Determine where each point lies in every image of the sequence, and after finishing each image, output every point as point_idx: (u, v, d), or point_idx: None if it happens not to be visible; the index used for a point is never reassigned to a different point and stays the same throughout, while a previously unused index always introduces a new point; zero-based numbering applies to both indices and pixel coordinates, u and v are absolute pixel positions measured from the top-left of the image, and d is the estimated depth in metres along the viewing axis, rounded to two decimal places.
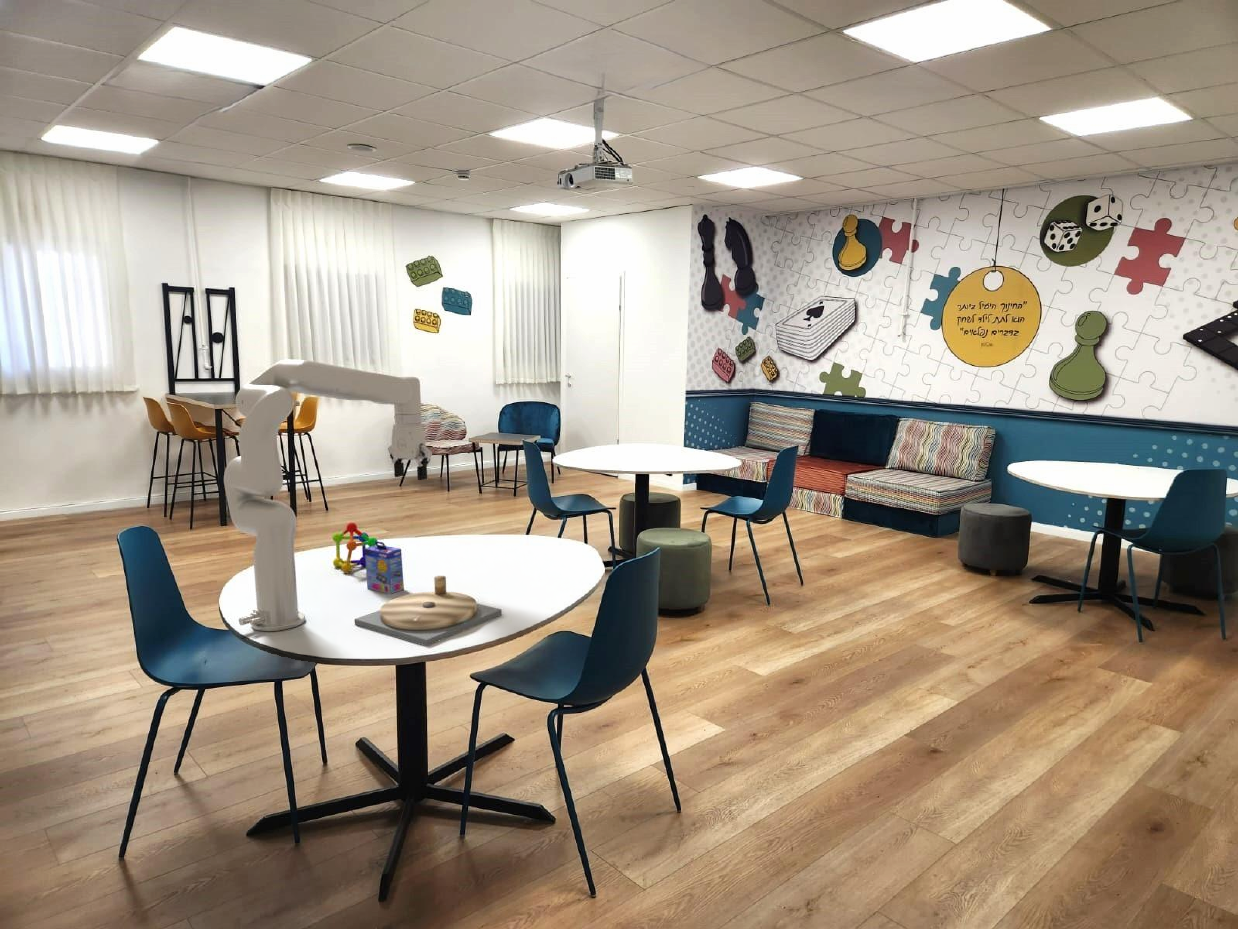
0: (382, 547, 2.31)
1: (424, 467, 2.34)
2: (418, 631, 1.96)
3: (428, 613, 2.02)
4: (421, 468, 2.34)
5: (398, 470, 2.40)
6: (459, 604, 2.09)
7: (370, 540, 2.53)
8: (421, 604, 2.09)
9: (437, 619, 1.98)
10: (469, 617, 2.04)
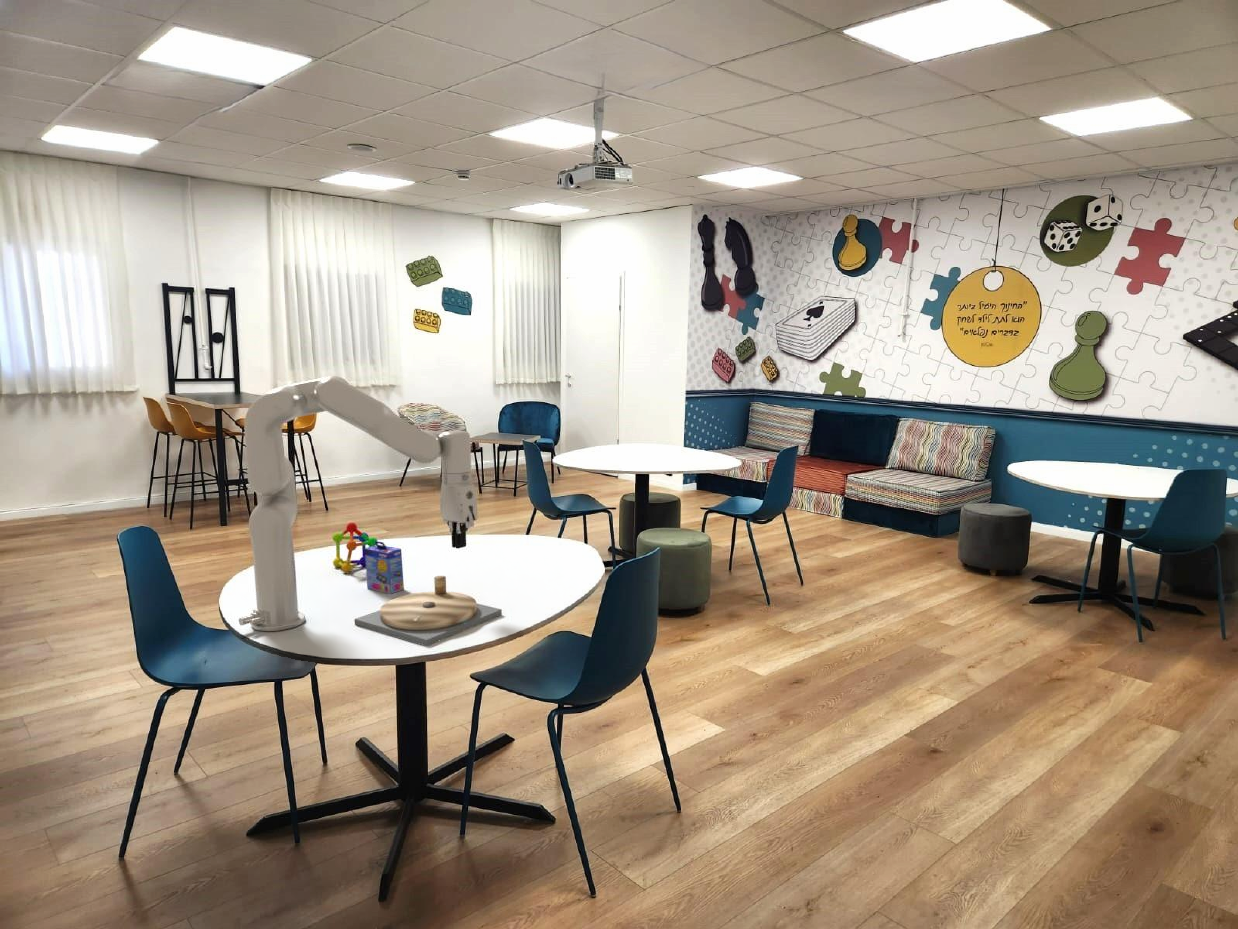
0: (382, 547, 2.32)
1: None
2: (418, 631, 1.96)
3: (428, 613, 2.02)
4: None
5: None
6: (459, 604, 2.09)
7: (370, 540, 2.53)
8: (421, 604, 2.09)
9: (437, 619, 1.98)
10: (469, 617, 2.04)
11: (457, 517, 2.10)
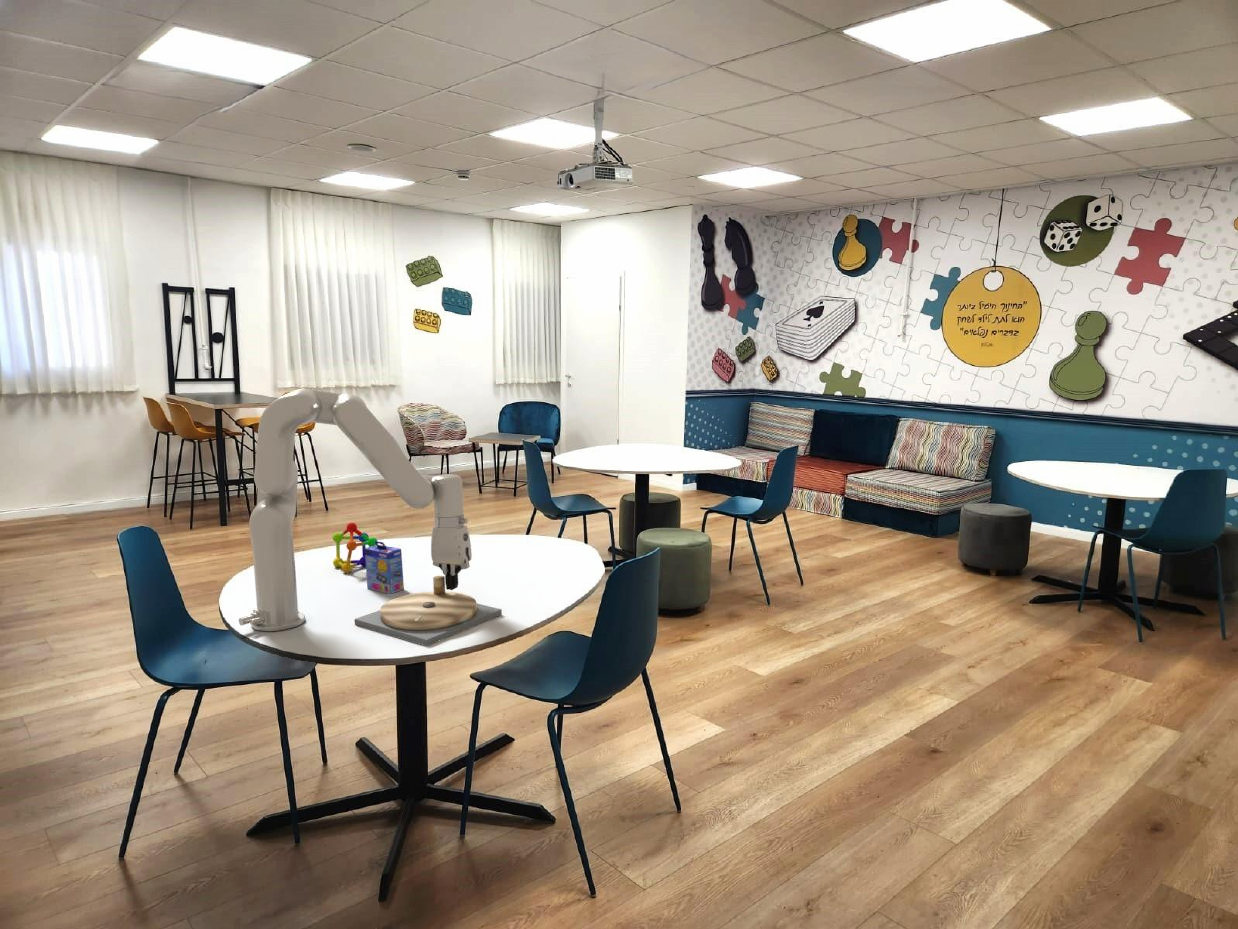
0: (382, 547, 2.32)
1: None
2: (418, 631, 1.96)
3: (428, 613, 2.02)
4: None
5: None
6: (459, 604, 2.09)
7: (370, 540, 2.53)
8: (421, 604, 2.09)
9: (438, 619, 1.98)
10: (470, 617, 2.05)
11: (454, 559, 2.13)
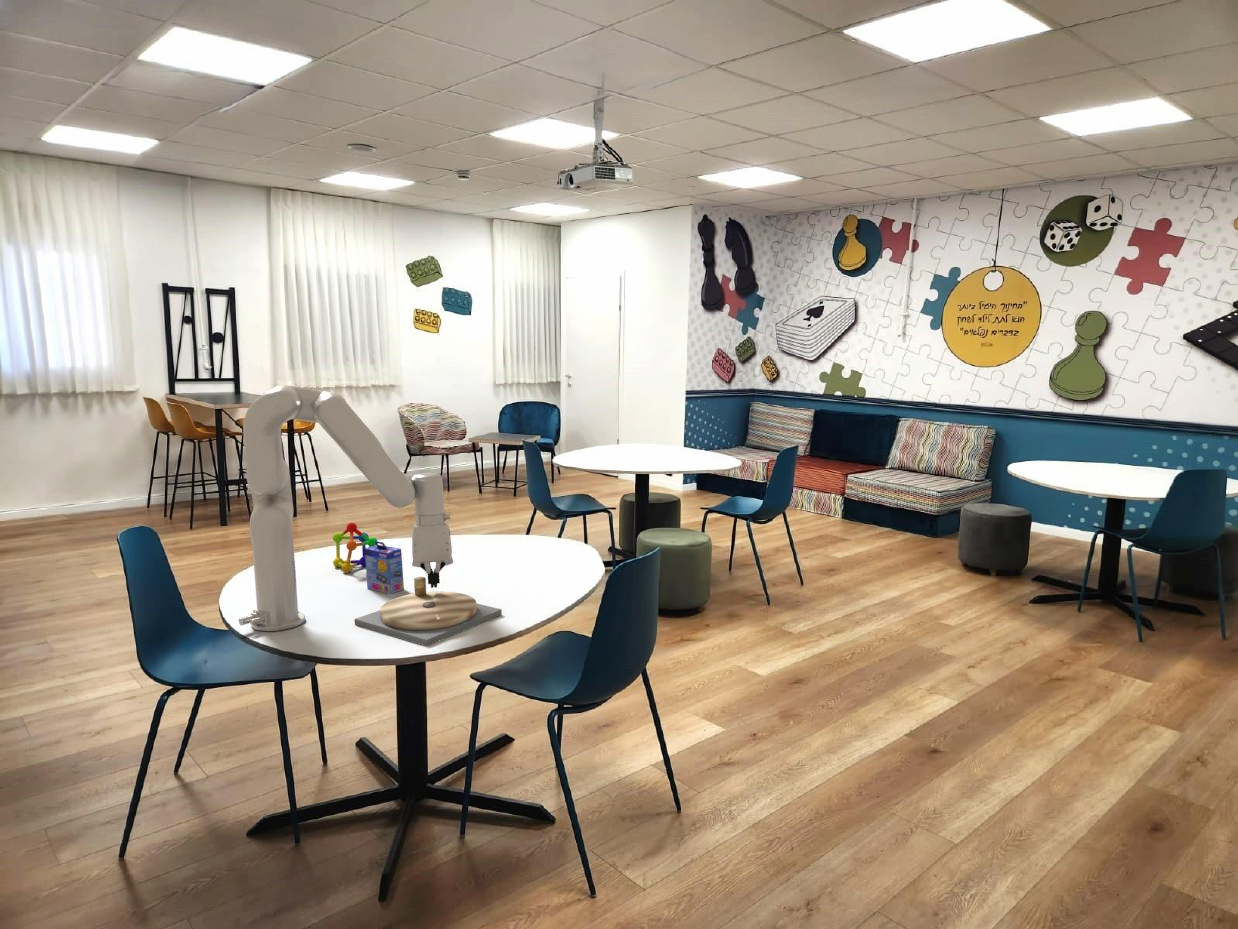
0: (382, 547, 2.31)
1: (427, 573, 2.17)
2: (418, 631, 1.96)
3: (440, 611, 2.04)
4: None
5: (434, 578, 2.18)
6: (456, 600, 2.13)
7: (370, 540, 2.53)
8: (419, 606, 2.08)
9: (457, 614, 2.01)
10: (476, 609, 2.10)
11: (441, 556, 2.15)
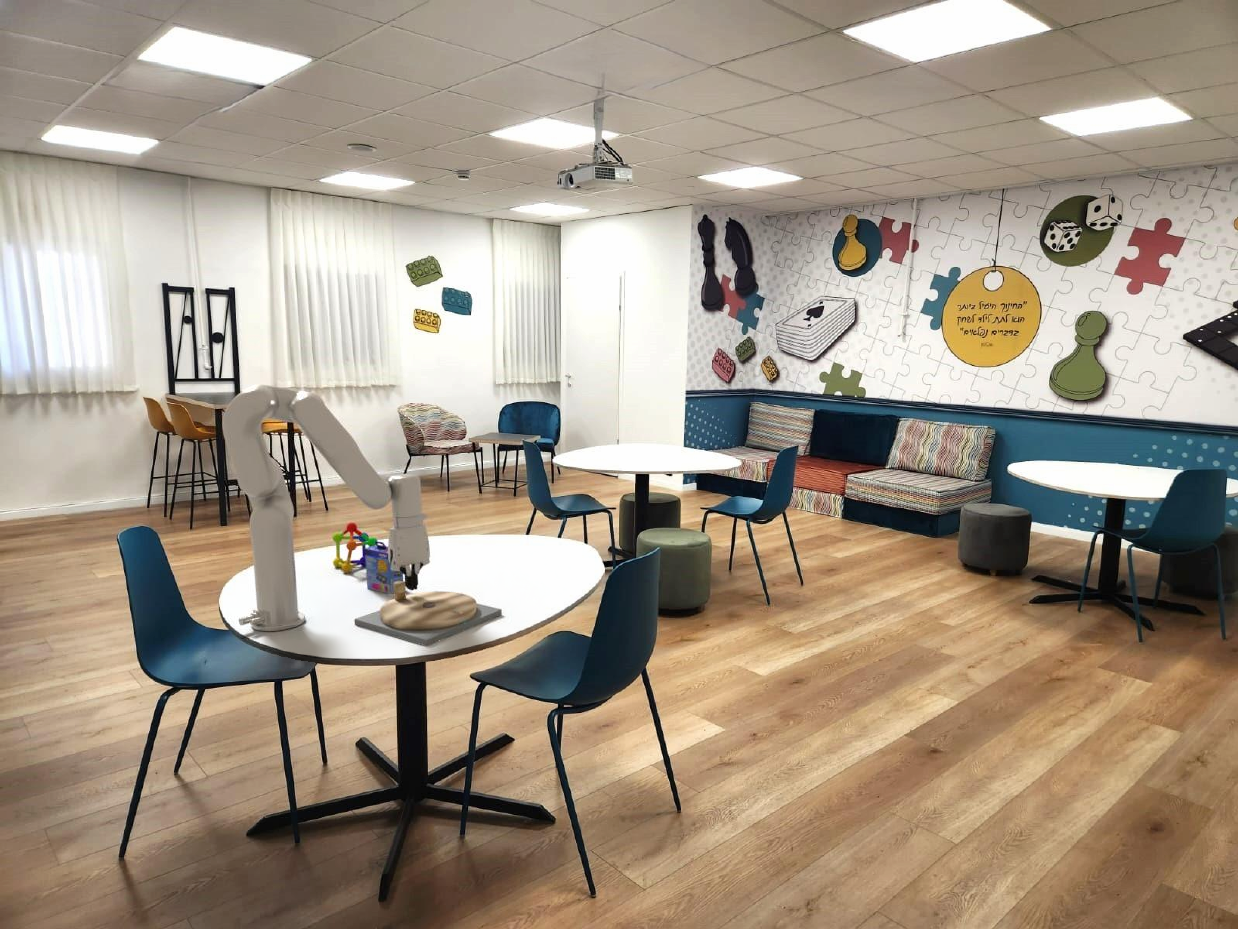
0: (382, 547, 2.32)
1: (406, 576, 2.14)
2: (418, 631, 1.96)
3: (449, 608, 2.06)
4: None
5: None
6: (445, 596, 2.15)
7: (370, 540, 2.53)
8: (419, 607, 2.07)
9: (471, 607, 2.07)
10: None
11: (422, 556, 2.15)
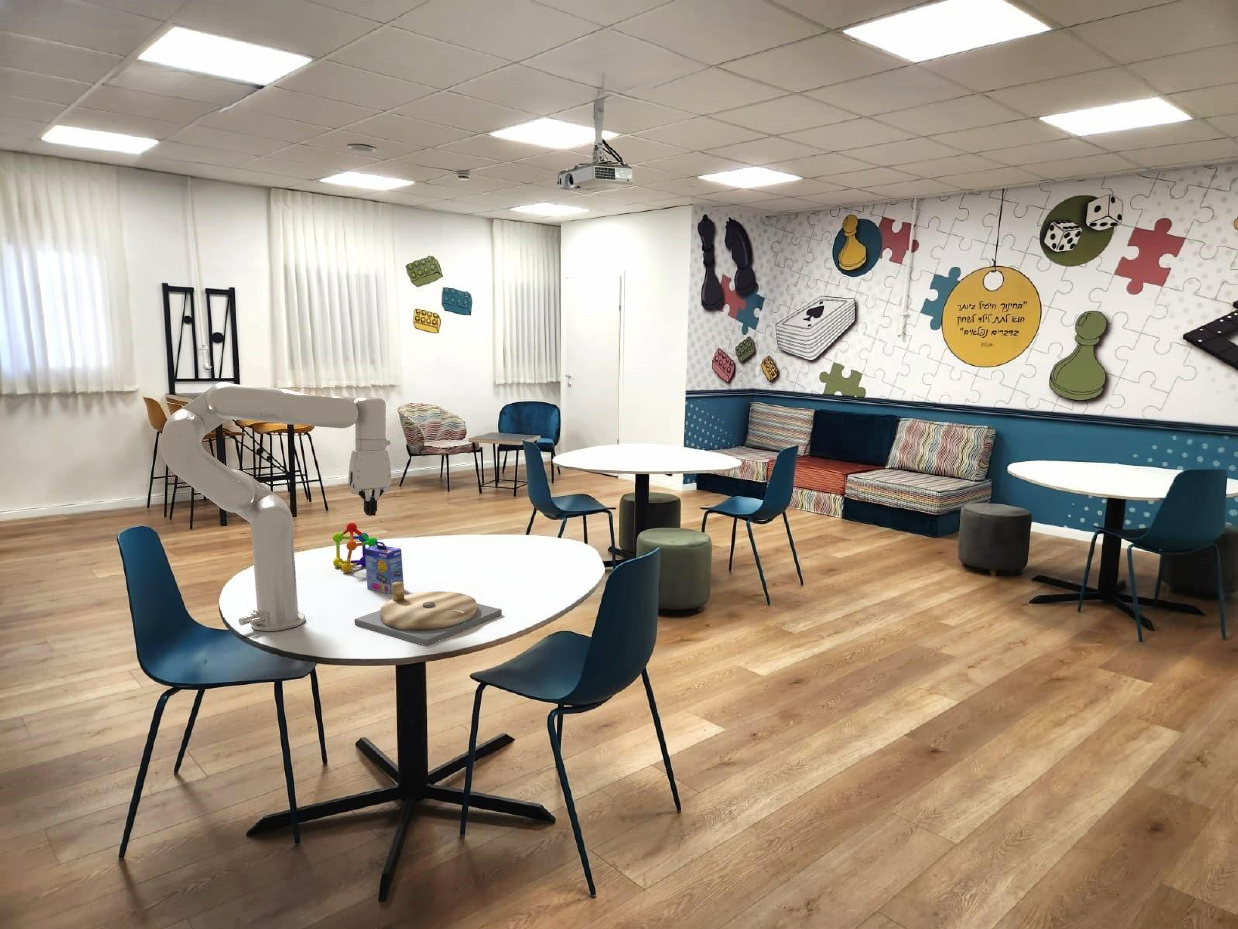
0: (382, 547, 2.32)
1: (365, 501, 2.12)
2: (418, 631, 1.96)
3: (450, 607, 2.07)
4: None
5: None
6: (444, 596, 2.15)
7: (370, 540, 2.53)
8: (419, 607, 2.07)
9: (471, 606, 2.08)
10: None
11: (383, 482, 2.12)
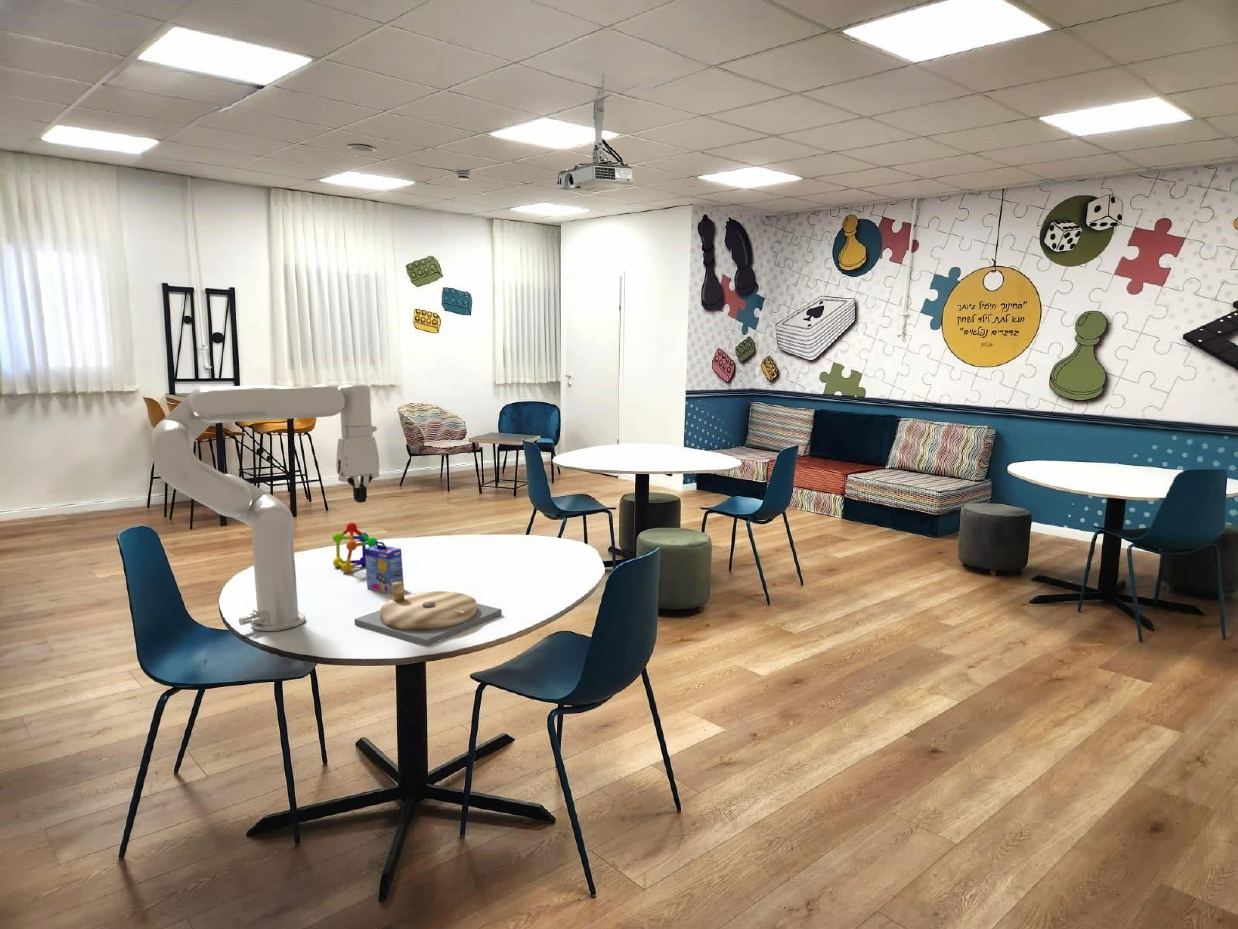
0: (382, 547, 2.32)
1: (354, 488, 2.12)
2: (418, 631, 1.96)
3: (450, 607, 2.07)
4: None
5: None
6: (444, 596, 2.15)
7: (370, 540, 2.53)
8: (419, 607, 2.07)
9: (471, 606, 2.08)
10: None
11: (371, 468, 2.12)
